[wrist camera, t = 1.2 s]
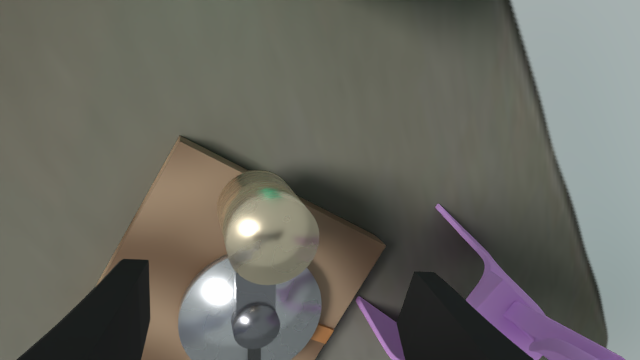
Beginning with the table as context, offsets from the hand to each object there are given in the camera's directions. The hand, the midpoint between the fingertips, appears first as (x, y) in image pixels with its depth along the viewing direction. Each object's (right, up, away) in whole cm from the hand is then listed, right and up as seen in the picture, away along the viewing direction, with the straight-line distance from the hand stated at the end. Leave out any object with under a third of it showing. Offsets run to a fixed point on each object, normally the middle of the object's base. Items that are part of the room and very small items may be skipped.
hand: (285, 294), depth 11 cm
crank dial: (-3, -2, +10) cm, 11 cm away
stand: (-4, -3, +12) cm, 13 cm away
